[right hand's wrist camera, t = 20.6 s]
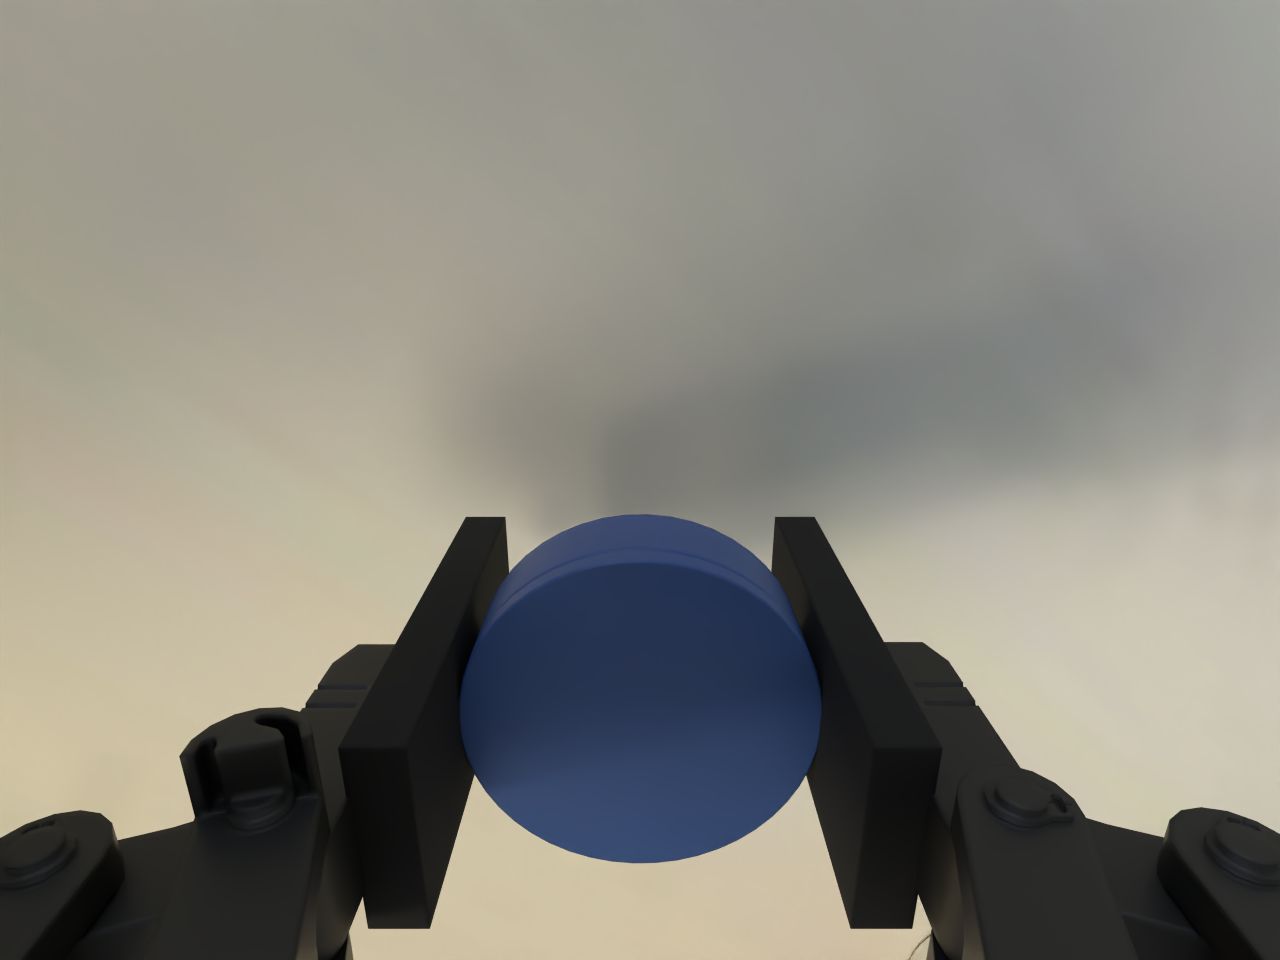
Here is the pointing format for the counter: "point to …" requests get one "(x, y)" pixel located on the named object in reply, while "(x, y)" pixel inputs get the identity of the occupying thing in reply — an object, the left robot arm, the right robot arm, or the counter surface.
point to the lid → (640, 692)
